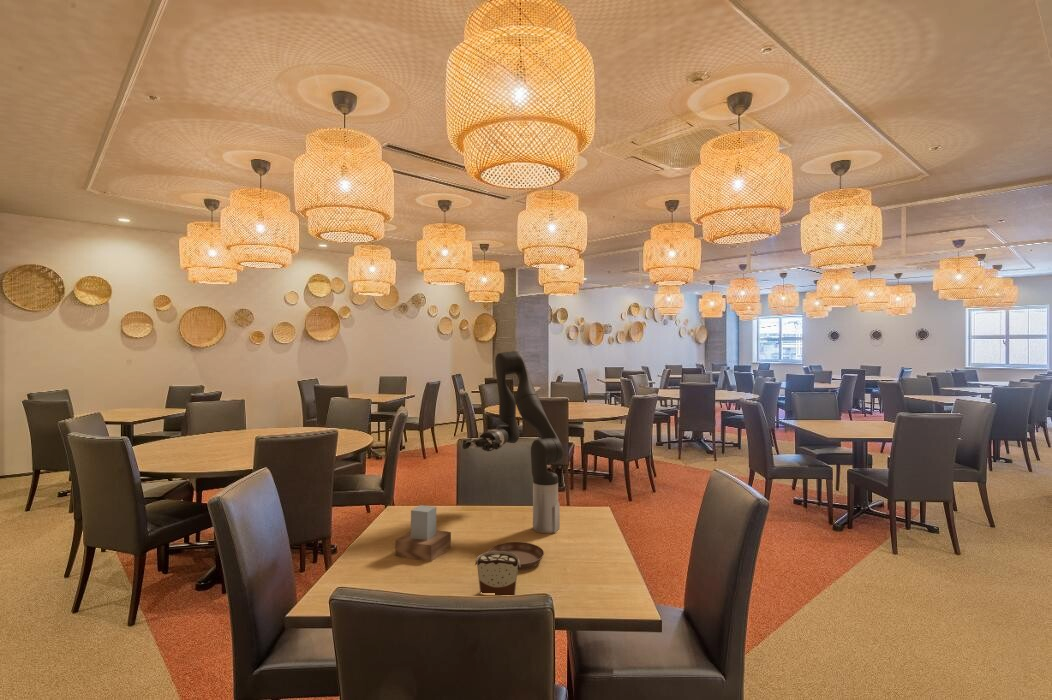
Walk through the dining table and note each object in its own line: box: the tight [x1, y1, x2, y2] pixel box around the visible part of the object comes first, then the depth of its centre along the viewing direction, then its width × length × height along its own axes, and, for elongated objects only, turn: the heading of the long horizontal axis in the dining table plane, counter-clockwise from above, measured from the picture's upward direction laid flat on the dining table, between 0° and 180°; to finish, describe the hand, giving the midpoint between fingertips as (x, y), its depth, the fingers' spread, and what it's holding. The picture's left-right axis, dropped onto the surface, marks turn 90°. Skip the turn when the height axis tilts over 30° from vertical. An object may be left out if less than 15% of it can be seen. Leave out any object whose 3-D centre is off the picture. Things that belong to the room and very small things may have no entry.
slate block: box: [410, 504, 437, 540], centre depth 175 cm, size 6×6×9 cm
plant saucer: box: [487, 541, 545, 571], centre depth 168 cm, size 18×18×3 cm
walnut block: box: [394, 529, 452, 562], centre depth 175 cm, size 13×13×5 cm
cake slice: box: [474, 551, 520, 596], centre depth 147 cm, size 12×6×10 cm, turn 84°
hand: (474, 447), depth 198 cm, fingers open, 8 cm apart
